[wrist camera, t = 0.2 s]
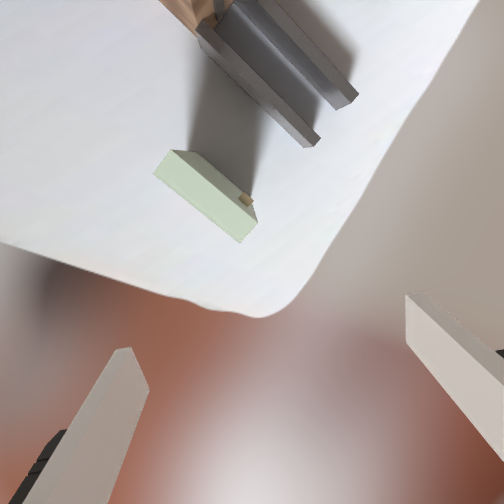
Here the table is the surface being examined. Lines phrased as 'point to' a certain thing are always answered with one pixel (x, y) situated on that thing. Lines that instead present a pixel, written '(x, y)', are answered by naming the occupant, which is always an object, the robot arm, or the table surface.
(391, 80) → the table surface
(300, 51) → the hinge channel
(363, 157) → the table surface
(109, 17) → the table surface
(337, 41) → the table surface
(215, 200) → the cabinet door
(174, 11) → the walnut cabinet
